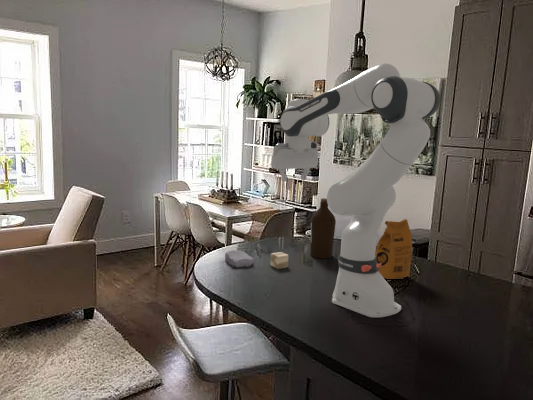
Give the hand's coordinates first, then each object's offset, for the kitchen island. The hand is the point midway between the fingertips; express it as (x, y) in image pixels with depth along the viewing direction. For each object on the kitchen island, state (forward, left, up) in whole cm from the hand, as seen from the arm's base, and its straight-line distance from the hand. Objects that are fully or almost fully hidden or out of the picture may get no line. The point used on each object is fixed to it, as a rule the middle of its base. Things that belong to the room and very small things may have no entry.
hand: (294, 180), depth 166 cm
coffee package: (-26, -29, -35) cm, 52 cm away
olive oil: (+8, -23, -35) cm, 43 cm away
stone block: (+15, +14, -35) cm, 41 cm away
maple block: (+4, +2, -35) cm, 35 cm away
